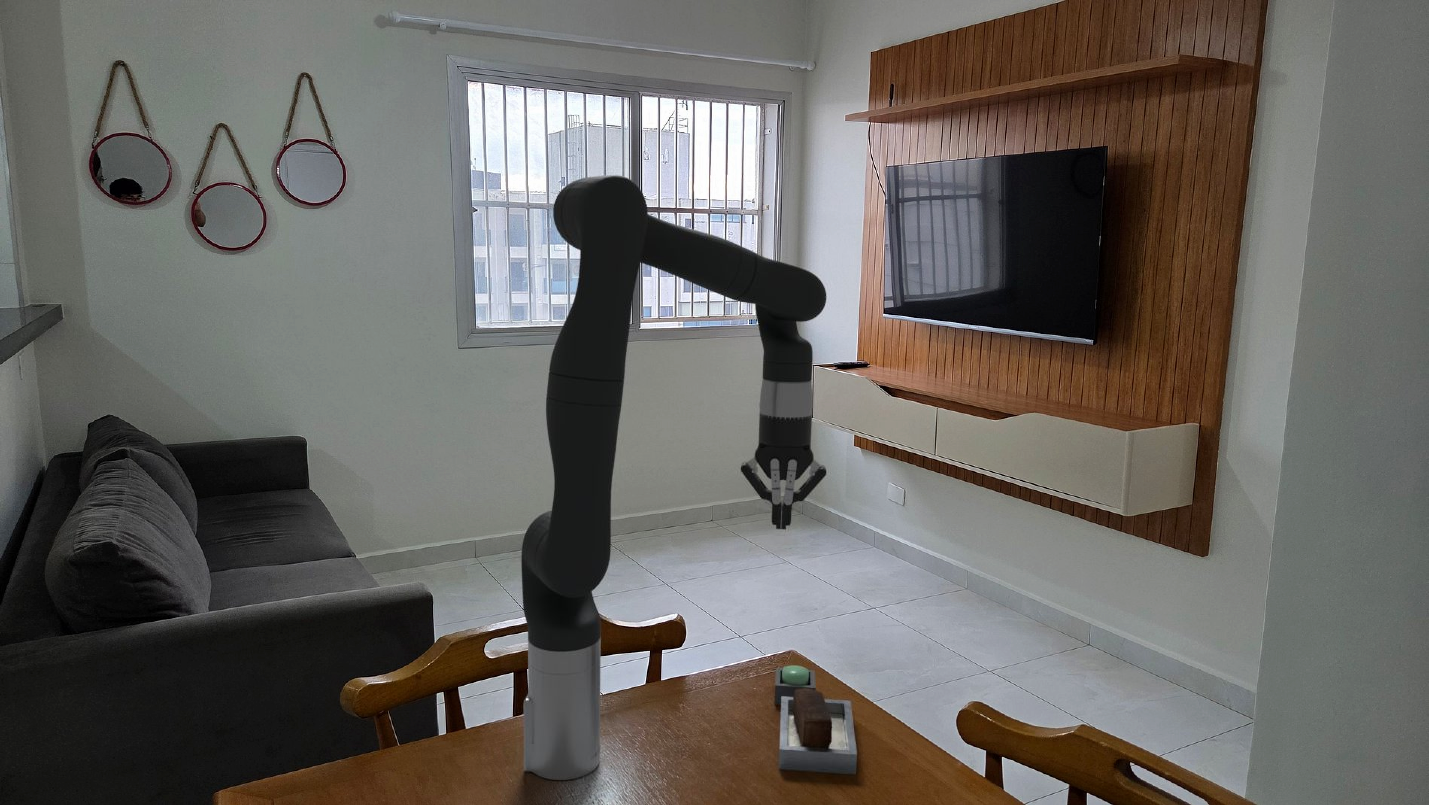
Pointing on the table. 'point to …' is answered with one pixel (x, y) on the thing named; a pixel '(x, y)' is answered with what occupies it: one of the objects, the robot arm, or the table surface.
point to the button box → (790, 686)
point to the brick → (812, 718)
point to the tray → (819, 759)
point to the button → (795, 675)
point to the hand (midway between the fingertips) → (781, 527)
